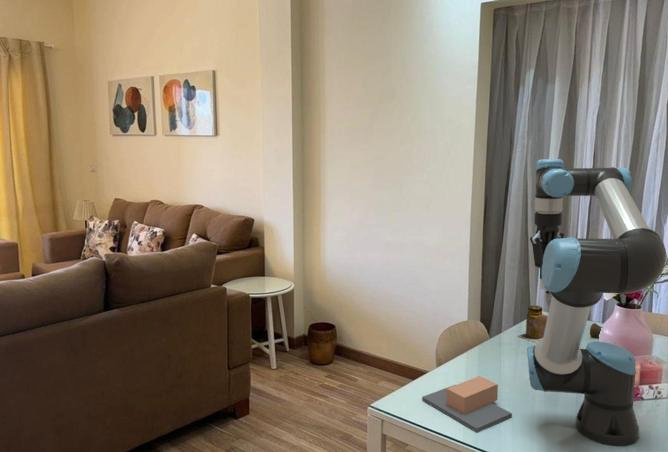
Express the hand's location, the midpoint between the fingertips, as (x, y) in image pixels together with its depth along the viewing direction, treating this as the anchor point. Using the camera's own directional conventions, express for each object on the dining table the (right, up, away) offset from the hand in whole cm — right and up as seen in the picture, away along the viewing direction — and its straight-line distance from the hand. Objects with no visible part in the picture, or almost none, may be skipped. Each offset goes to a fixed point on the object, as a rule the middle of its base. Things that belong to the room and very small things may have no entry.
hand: (545, 288), depth 165 cm
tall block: (-17, -30, -1) cm, 34 cm away
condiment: (+14, -25, +48) cm, 56 cm away
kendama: (+42, -24, +46) cm, 67 cm away
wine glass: (+26, -23, +57) cm, 67 cm away
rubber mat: (-25, -34, -5) cm, 43 cm away
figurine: (+13, -27, +34) cm, 45 cm away
